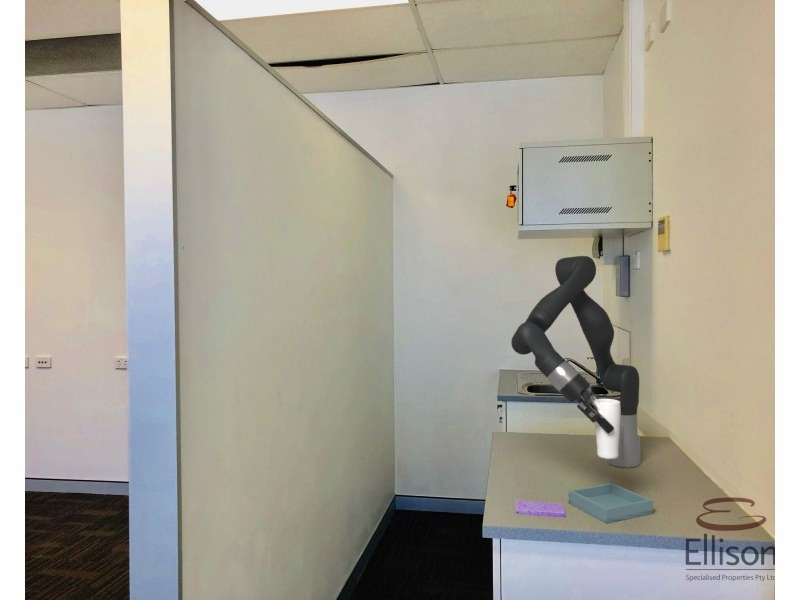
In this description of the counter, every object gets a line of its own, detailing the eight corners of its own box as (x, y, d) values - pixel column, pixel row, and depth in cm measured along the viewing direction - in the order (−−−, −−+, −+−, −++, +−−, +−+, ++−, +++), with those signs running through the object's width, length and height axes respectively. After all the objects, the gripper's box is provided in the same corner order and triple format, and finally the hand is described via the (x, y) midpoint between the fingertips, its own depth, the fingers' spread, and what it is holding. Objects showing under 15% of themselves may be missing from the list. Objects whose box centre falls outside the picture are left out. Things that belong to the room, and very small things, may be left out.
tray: (612, 495, 160) (612, 482, 160) (652, 513, 146) (652, 500, 146) (568, 503, 155) (568, 490, 155) (606, 523, 141) (606, 509, 141)
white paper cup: (608, 462, 146) (607, 404, 146) (588, 455, 152) (588, 400, 152) (626, 458, 149) (626, 401, 149) (606, 451, 155) (606, 397, 155)
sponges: (515, 506, 155) (515, 499, 155) (563, 509, 152) (563, 502, 152) (515, 516, 148) (515, 509, 148) (565, 519, 146) (565, 512, 146)
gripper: (572, 376, 148) (620, 425, 142) (583, 369, 160) (628, 413, 155) (552, 394, 151) (598, 443, 145) (564, 386, 163) (608, 431, 157)
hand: (613, 428), depth 150 cm, fingers closed on white paper cup, 6 cm apart
